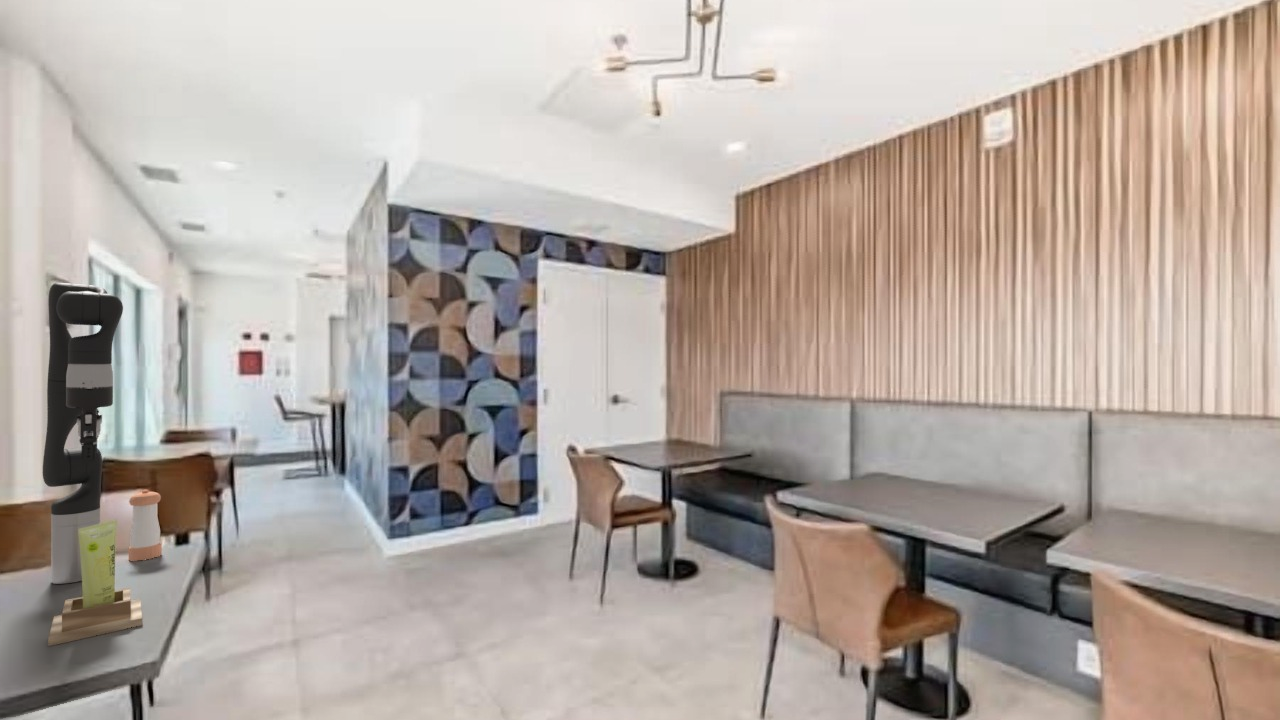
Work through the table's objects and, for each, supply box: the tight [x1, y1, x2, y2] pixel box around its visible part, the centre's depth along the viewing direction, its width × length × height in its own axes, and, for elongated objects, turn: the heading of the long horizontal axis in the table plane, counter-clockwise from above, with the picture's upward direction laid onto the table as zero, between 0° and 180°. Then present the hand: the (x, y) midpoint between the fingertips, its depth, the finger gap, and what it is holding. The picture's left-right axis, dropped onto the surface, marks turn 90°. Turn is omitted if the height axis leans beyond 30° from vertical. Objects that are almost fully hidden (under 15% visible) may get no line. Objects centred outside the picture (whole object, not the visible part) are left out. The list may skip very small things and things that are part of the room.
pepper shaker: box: [128, 489, 163, 562], centre depth 172 cm, size 7×7×19 cm
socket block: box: [47, 587, 143, 647], centre depth 126 cm, size 14×14×5 cm
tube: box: [78, 519, 118, 608], centre depth 127 cm, size 6×5×20 cm
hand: (89, 459), depth 131 cm, fingers open, 8 cm apart
